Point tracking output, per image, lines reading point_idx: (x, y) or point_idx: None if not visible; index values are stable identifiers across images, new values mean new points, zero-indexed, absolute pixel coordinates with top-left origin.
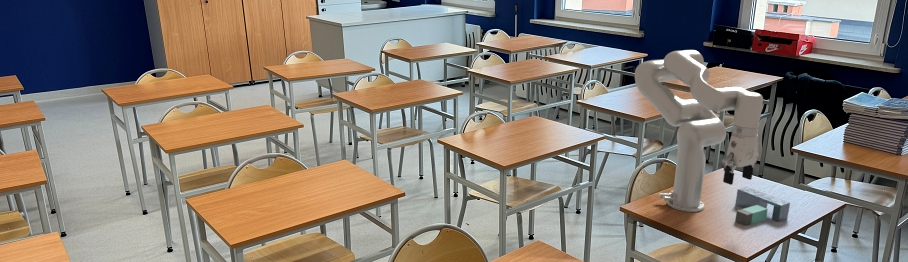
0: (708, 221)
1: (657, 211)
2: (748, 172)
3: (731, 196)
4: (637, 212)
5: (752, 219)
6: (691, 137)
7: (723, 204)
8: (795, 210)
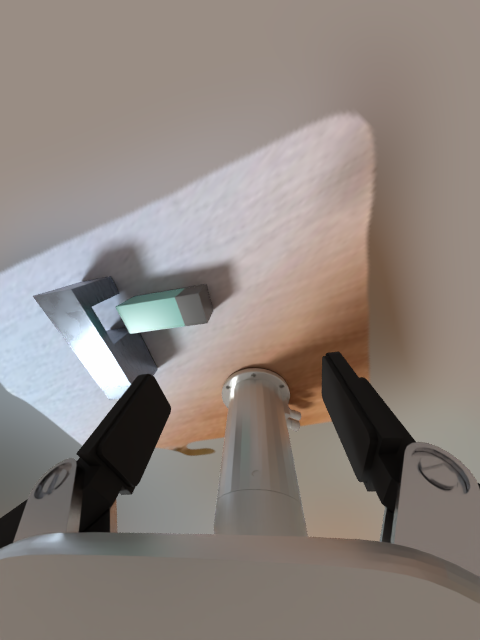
0: (269, 329)
1: None
2: (135, 423)
3: None
4: None
5: (179, 291)
6: None
7: (179, 376)
8: (38, 313)
